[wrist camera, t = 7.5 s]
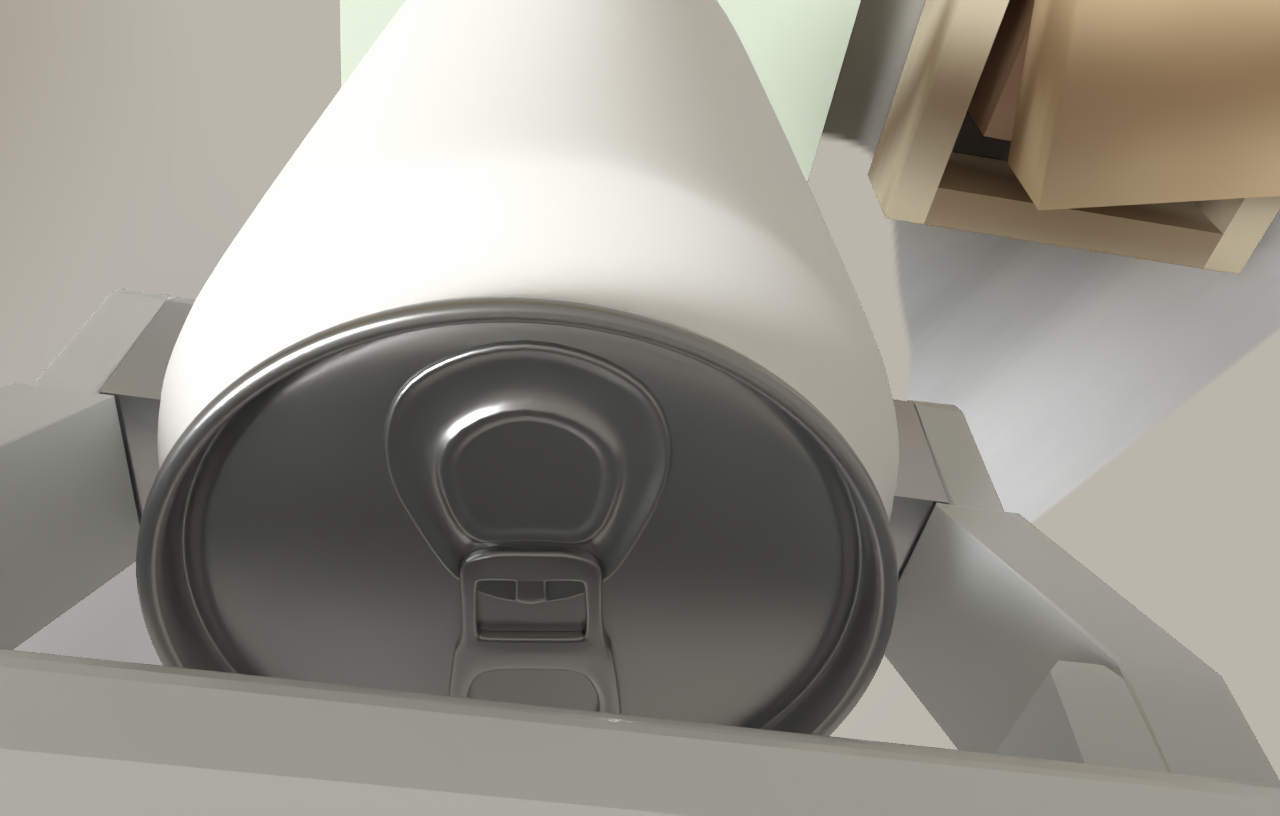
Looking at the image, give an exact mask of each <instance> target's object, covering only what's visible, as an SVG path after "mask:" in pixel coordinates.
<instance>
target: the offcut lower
mask: <svg viewBox="0 0 1280 816" xmlns="http://www.w3.org/2000/svg"><path fill="white" fill-rule="evenodd" d="M1034 2H1035V0H1009V3H1008V5H1007V8H1006V11H1005V13H1004V16H1003V19H1002V21H1001V24H1000V26H999V29H998V32H997V34H996V37H995V39H994V42H993V45H992V47H991V50H990V53H989V55H988V58H987V60H986V63H985V66H984V68H983V71H982V73H981V76H980V79H979V81H978V84H977V86H976V89H975V92H974V94H973V97H972V100H971V102H970V105H969V107H968V110H967V111H968V112H969V114H970V115H971V117H972V118H973V120H974V121H975V123H976V125H977V126H978V128H979V129H980V131H981V132H982V134H983V135H984V136H986V137H992V138H997V139H1003V140H1008V141H1011V139H1012V133H1013V127H1014V121H1015V115H1016V109H1017V103H1018V97H1019V91H1020V85H1021V79H1022V73H1023V67H1024V61H1025V55H1026V49H1027V43H1028V37H1029V31H1030V25H1031V19H1032V14H1033V8H1034Z"/></svg>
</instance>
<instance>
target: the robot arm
mask: <svg viewBox="0 0 1280 816" xmlns="http://www.w3.org/2000/svg"><path fill="white" fill-rule="evenodd" d="M194 302H195V300H194V299H188V298H182V297H176V298H174V297H172V296H170V295H162V294H155V293H148V292H141V291H133V290H126V289H122V290H118V291H113V292H111V293H110V294H109V295H108V296H107V297H106V298H105V299H104V300H103V302H102V303H101V304H100V305H99V307H98V308H97V309H96V310H95V311H94V313H93V314H92V315H91V316H90V317H89V318H88V320H87V321H86V322H85V323H84V324H83V325H82V327H81V328H80V329H79V330H78V331H77V333H76V334H75V335H74V336H73V337H72V338H71V340H70V341H69V342H68V343H67V344H66V346H65V347H64V348H63V349H62V350H61V351H60V353H59V354H58V355H57V356H56V358H55V359H54V360H53V361H52V362H51V364H50V365H49V366H48V367H47V368H46V369H45V371H44V372H43V373H42V374H41V375H40V376H39V378H38V379H37V380H36V381H35V382H34V384H33V385H30V384H22V383H13V384H10V385H8V386H5V387H3V388H0V816H1280V781H1279V779H1278V777H1277V775H1276V773H1275V771H1274V770H1273V768H1272V766H1271V764H1270V762H1269V761H1268V759H1267V757H1266V755H1265V754H1264V752H1263V750H1262V748H1261V746H1260V744H1259V743H1258V741H1257V739H1256V737H1255V736H1254V734H1253V732H1252V730H1251V728H1250V726H1249V725H1248V723H1247V721H1246V719H1245V717H1244V716H1243V714H1242V712H1241V710H1240V708H1239V707H1238V705H1237V703H1236V701H1235V699H1234V698H1233V696H1232V694H1231V692H1230V690H1229V689H1228V687H1227V685H1226V683H1225V681H1224V680H1223V678H1222V676H1220V675H1219V674H1218V673H1217V672H1215V671H1214V670H1213V669H1212V668H1211V667H1209V666H1208V665H1207V664H1205V663H1204V662H1203V661H1202V660H1201V659H1199V658H1198V657H1197V656H1195V655H1194V654H1193V653H1192V652H1191V651H1189V650H1188V649H1187V648H1186V647H1184V646H1183V645H1182V644H1181V643H1179V642H1178V641H1177V640H1176V639H1174V638H1173V637H1172V636H1171V635H1169V634H1168V633H1167V632H1166V631H1164V630H1163V629H1162V628H1161V627H1159V626H1158V625H1157V624H1156V623H1154V622H1153V621H1152V620H1151V619H1149V618H1148V617H1147V616H1146V615H1144V614H1143V613H1142V612H1141V611H1139V610H1138V609H1137V608H1136V607H1134V606H1133V605H1132V604H1131V603H1129V602H1128V601H1127V600H1126V599H1124V598H1123V597H1122V596H1121V595H1120V594H1118V593H1117V592H1116V591H1115V590H1113V589H1112V588H1111V587H1110V586H1108V585H1107V584H1106V583H1104V582H1103V581H1102V580H1101V579H1100V578H1098V577H1097V576H1096V575H1095V574H1093V573H1092V572H1091V571H1090V570H1088V569H1087V568H1086V567H1085V566H1083V565H1082V564H1081V563H1080V562H1078V561H1077V560H1076V559H1075V558H1073V557H1072V556H1071V555H1070V554H1068V553H1067V552H1066V551H1065V550H1063V549H1062V548H1061V547H1060V546H1058V545H1057V544H1056V543H1054V542H1053V541H1052V540H1051V539H1050V538H1048V537H1047V536H1046V535H1045V534H1043V533H1042V532H1041V531H1039V529H1037V528H1036V527H1035V526H1034V525H1032V524H1031V523H1030V522H1029V521H1027V520H1026V519H1025V518H1024V517H1022V516H1021V515H1020V514H1017V513H1010V512H1004V509H1003V507H1002V504H1001V502H1000V500H999V497H998V495H997V493H996V490H995V488H994V486H993V483H992V481H991V478H990V476H989V474H988V471H987V469H986V467H985V464H984V462H983V460H982V457H981V455H980V452H979V450H978V448H977V445H976V443H975V441H974V438H973V436H972V434H971V431H970V429H969V426H968V424H967V422H966V419H965V417H964V415H963V412H962V411H961V410H960V409H958V408H957V407H956V406H955V405H947V404H938V403H929V402H919V401H910V400H907V401H900V400H893V402H894V407H895V413H896V419H897V427H898V437H899V467H898V478H897V486H896V490H895V494H894V500H893V507H892V513H891V518H890V526H891V530H892V534H893V538H894V543H895V548H896V556H897V564H898V596H897V606H896V612H895V619H894V623H893V627H892V632H891V635H890V638H889V642H888V645H887V647H886V650H885V653H884V655H885V656H886V657H887V659H888V660H889V661H890V663H891V664H892V665H893V666H894V668H895V669H896V670H897V671H898V673H899V674H900V675H901V677H902V678H903V679H904V681H905V682H906V683H907V684H908V686H909V687H910V688H911V689H912V691H913V692H914V693H915V695H917V697H918V698H919V700H920V701H921V702H922V704H923V705H924V706H925V707H926V709H927V710H928V711H929V713H930V714H931V715H932V716H933V718H934V719H935V720H936V722H937V723H938V724H939V725H940V727H941V728H942V729H943V731H944V732H945V733H946V734H947V736H948V737H949V738H950V740H951V741H952V742H953V744H954V745H955V746H956V747H957V749H958V750H953V749H943V748H934V747H923V746H915V745H906V744H896V743H887V742H877V741H868V740H859V739H849V738H840V737H831V736H821V735H812V734H802V733H793V732H783V731H774V730H765V729H755V728H746V727H736V726H727V725H718V724H708V723H699V722H689V721H680V720H671V719H661V718H652V717H643V716H633V715H624V714H615V713H605V712H596V711H586V710H577V709H568V708H558V707H549V706H540V705H530V704H521V703H512V702H502V701H493V700H484V699H474V698H465V697H455V696H446V695H437V694H427V693H418V692H409V691H399V690H390V689H381V688H371V687H362V686H352V685H342V684H333V683H323V682H314V681H304V680H294V679H285V678H275V677H265V676H256V675H246V674H237V673H227V672H217V671H208V670H198V669H189V668H179V667H169V666H159V665H150V664H139V663H131V662H120V661H112V660H102V659H93V658H82V657H73V656H63V655H54V654H45V653H35V652H26V651H16V650H13V649H14V648H16V647H17V646H19V645H20V644H21V643H23V642H24V641H26V640H27V639H29V638H30V637H31V636H33V635H34V634H35V633H37V632H38V631H40V630H41V629H42V628H44V627H45V626H47V625H48V624H49V623H51V622H52V621H53V620H55V619H56V618H58V617H59V616H60V615H62V614H63V613H65V612H66V611H67V610H69V609H70V608H72V607H73V606H74V605H76V604H77V603H78V602H80V601H81V600H83V599H84V598H85V597H87V596H88V595H90V594H91V593H92V592H94V591H95V590H96V589H98V588H99V587H100V586H102V585H103V584H105V583H106V582H108V581H109V580H110V579H112V578H113V577H115V576H116V575H117V574H119V573H120V572H121V571H123V570H124V569H126V568H127V567H128V566H130V565H131V564H133V563H134V562H135V561H136V550H137V540H138V533H139V527H140V522H141V517H142V514H143V510H144V506H145V503H146V500H147V497H148V494H149V492H150V489H151V487H152V484H153V482H154V480H155V478H156V475H157V473H158V471H159V465H158V447H157V435H158V417H159V409H160V401H161V391H162V386H163V381H164V377H165V373H166V370H167V366H168V363H169V360H170V357H171V354H172V351H173V349H174V346H175V344H176V341H177V339H178V337H179V334H180V332H181V330H182V327H183V325H184V323H185V321H186V318H187V316H188V314H189V312H190V310H191V308H192V306H193V304H194Z"/></svg>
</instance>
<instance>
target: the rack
mask: <svg viewBox="0 0 1280 816" xmlns="http://www.w3.org/2000/svg"><path fill="white" fill-rule="evenodd" d="M1008 3H1009V0H926V2H925V5H924V8H923V11H922V14H921V17H920V20H919V23H918V26H917V29H916V32H915V35H914V38H913V41H912V44H911V47H910V50H909V53H908V56H907V59H906V62H905V65H904V68H903V71H902V74H901V77H900V80H899V83H898V86H897V89H896V92H895V95H894V98H893V101H892V104H891V107H890V110H889V113H888V116H887V119H886V122H885V125H884V128H883V131H882V134H881V137H880V140H879V143H878V146H877V149H876V152H875V155H874V158H873V161H872V164H871V167H870V170H869V173H868V176H869V179H870V181H871V184H872V186H873V189H874V191H875V193H876V196H877V198H878V201H879V203H880V206H881V208H882V211H883V213H884V216H885V218H889V219H895V220H901V221H908V222H914V223H920V224H926V225H933V226H939V227H945V228H952V229H958V230H964V231H970V232H977V233H983V234H989V235H995V236H1002V237H1008V238H1014V239H1020V240H1027V241H1033V242H1039V243H1046V244H1052V245H1058V246H1064V247H1071V248H1077V249H1083V250H1089V251H1096V252H1102V253H1108V254H1114V255H1121V256H1127V257H1133V258H1140V259H1146V260H1152V261H1158V262H1165V263H1171V264H1177V265H1183V266H1190V267H1196V268H1202V269H1209V270H1215V271H1221V272H1227V273H1234V274H1240V272H1241V271H1242V269H1243V267H1244V266H1245V264H1246V263H1247V261H1248V259H1249V258H1250V256H1251V255H1252V253H1253V251H1254V250H1255V248H1256V247H1257V245H1258V243H1259V242H1260V240H1261V239H1262V237H1263V235H1264V234H1265V232H1266V231H1267V229H1268V227H1269V226H1270V224H1271V223H1272V221H1273V219H1274V218H1275V216H1276V214H1277V213H1278V211H1279V210H1280V196H1270V197H1254V198H1237V199H1221V200H1204V201H1188V202H1171V203H1154V204H1138V205H1121V206H1105V207H1088V208H1072V209H1055V210H1038V209H1037V207H1036V206H1035V204H1034V203H1033V201H1032V199H1031V198H1030V196H1029V195H1028V193H1027V192H1026V190H1025V189H1024V187H1023V186H1022V184H1021V183H1020V181H1019V180H1018V178H1017V177H1016V175H1015V174H1014V172H1013V171H1012V169H1011V167H1010V166H1009V164H1008V161H1003V160H997V159H991V158H985V157H979V156H973V155H967V154H961V153H955V152H952V149H953V147H954V144H955V141H956V139H957V136H958V134H959V131H960V128H961V126H962V123H963V120H964V118H965V115H966V113H967V110H968V107H969V105H970V102H971V100H972V97H973V94H974V92H975V89H976V86H977V84H978V81H979V79H980V76H981V73H982V71H983V68H984V66H985V63H986V60H987V58H988V55H989V53H990V50H991V47H992V45H993V42H994V39H995V37H996V34H997V32H998V29H999V26H1000V24H1001V21H1002V19H1003V16H1004V13H1005V11H1006V8H1007V5H1008Z"/></svg>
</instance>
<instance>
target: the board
mask: <svg viewBox="0 0 1280 816" xmlns="http://www.w3.org/2000/svg"><path fill="white" fill-rule="evenodd" d="M405 1H406V0H340V30H341V76H342V77H341V82H342V86H343V85H344V83H345V82H346V81H347V79H348V78H349V76H350V75H351V74H352V72H353V71H354V70H355V68H356V67H357V65H358V64H359V63H360V61H361V60H362V59H363V57H364V56H365V54H366V53H367V52H368V50H369V49H370V48H371V46H372V45H373V43H374V42H375V41H376V39H377V38H378V37H379V35H380V34H381V33H382V31H383V30H384V29H385V27H386V26H387V25H388V23H389V22H390V20H391V19H392V18H393V16H394V15H395V14H396V13H397V11H398V10H399V9H400V7H401V6H402V5H403V3H404V2H405ZM717 1H718V3H719V4H720V6H721V7H722V8H723V10H724V12H725V13H726V15H727V16H728V18H729V20H730V22H731V23H732V25H733V27H734V29H735V30H736V32H737V34H738V36H739V38H740V40H741V42H742V44H743V46H744V48H745V50H746V52H747V54H748V56H749V58H750V60H751V62H752V65H753V67H754V69H755V71H756V73H757V75H758V77H759V79H760V81H761V84H762V86H763V88H764V90H765V92H766V94H767V96H768V99H769V101H770V103H771V105H772V107H773V109H774V112H775V114H776V116H777V118H778V120H779V122H780V124H781V127H782V129H783V131H784V133H785V135H786V138H787V140H788V142H789V144H790V146H791V148H792V151H793V153H794V155H795V157H796V159H797V162H798V164H799V166H800V168H801V170H802V173H803V175H804V177H805V179H806V181H807V183H808V179H809V176H810V172H811V169H812V165H813V162H814V159H815V155H816V152H817V148H818V145H819V142H820V138H821V135H822V131H823V128H824V125H825V121H826V118H827V114H828V111H829V108H830V104H831V101H832V97H833V94H834V90H835V87H836V84H837V80H838V77H839V73H840V70H841V67H842V63H843V60H844V56H845V53H846V50H847V46H848V43H849V39H850V36H851V33H852V29H853V26H854V22H855V19H856V16H857V12H858V9H859V5H860V2H861V0H717Z"/></svg>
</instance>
